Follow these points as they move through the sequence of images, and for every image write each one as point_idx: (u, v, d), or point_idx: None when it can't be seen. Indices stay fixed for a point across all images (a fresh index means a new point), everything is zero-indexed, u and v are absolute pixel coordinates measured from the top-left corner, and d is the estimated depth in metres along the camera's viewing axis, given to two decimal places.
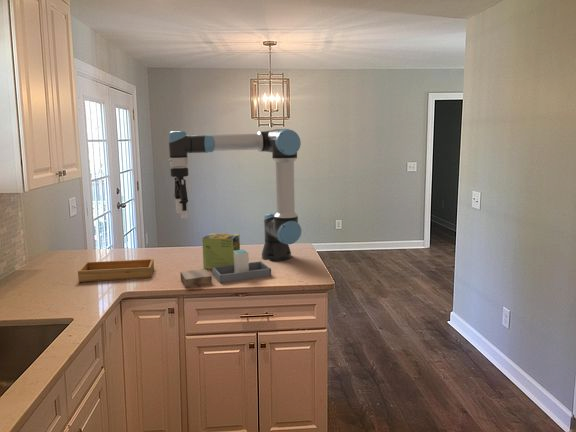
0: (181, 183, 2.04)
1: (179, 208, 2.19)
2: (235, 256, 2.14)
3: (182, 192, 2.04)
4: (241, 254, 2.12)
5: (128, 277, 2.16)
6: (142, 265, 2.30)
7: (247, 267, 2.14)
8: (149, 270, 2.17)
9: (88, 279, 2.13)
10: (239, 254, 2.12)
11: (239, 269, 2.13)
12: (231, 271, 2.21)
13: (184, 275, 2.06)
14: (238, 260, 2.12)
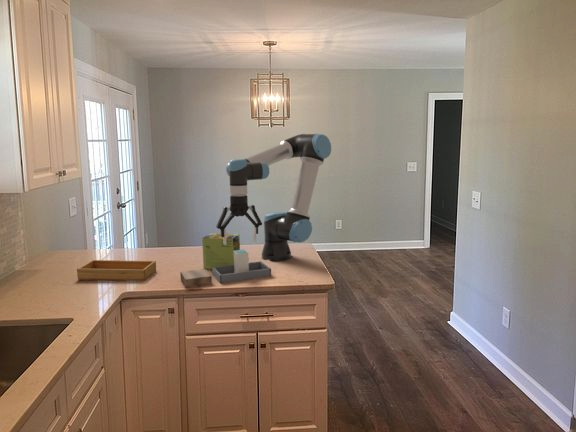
0: (223, 210, 2.09)
1: (253, 236, 2.16)
2: (235, 256, 2.14)
3: (220, 218, 2.09)
4: (241, 254, 2.12)
5: (123, 278, 2.14)
6: (144, 266, 2.27)
7: (247, 267, 2.14)
8: (143, 273, 2.13)
9: (86, 277, 2.15)
10: (239, 254, 2.12)
11: (239, 269, 2.13)
12: (231, 271, 2.21)
13: (184, 275, 2.06)
14: (238, 260, 2.12)
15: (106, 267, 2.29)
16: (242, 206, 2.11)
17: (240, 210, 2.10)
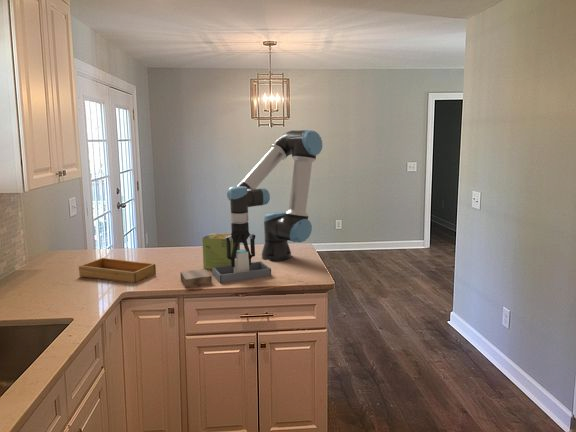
0: (226, 240, 2.12)
1: None
2: (235, 256, 2.14)
3: None
4: (241, 254, 2.12)
5: (116, 279, 2.13)
6: None
7: (247, 267, 2.14)
8: (133, 275, 2.09)
9: (86, 275, 2.19)
10: (239, 254, 2.12)
11: (239, 269, 2.13)
12: (231, 271, 2.21)
13: (184, 275, 2.06)
14: (238, 260, 2.12)
15: (113, 266, 2.31)
16: (244, 231, 2.13)
17: (241, 236, 2.13)
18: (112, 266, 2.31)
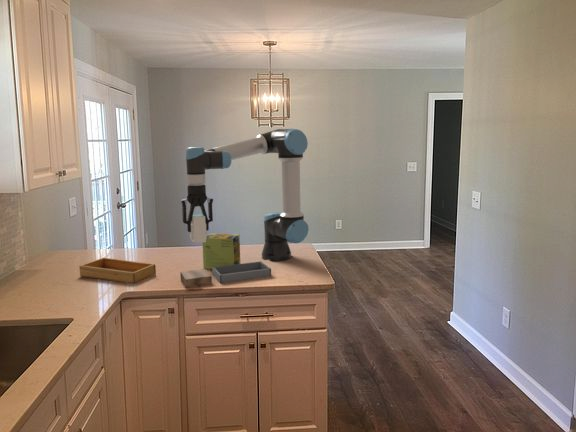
0: None
1: None
2: None
3: (182, 213, 2.03)
4: (197, 218, 2.02)
5: (116, 279, 2.13)
6: None
7: (204, 232, 2.04)
8: (132, 276, 2.09)
9: (86, 275, 2.19)
10: (195, 218, 2.02)
11: (195, 234, 2.03)
12: (231, 271, 2.21)
13: (184, 275, 2.06)
14: (195, 224, 2.02)
15: (113, 266, 2.31)
16: (201, 194, 2.03)
17: (198, 199, 2.03)
18: (113, 266, 2.31)
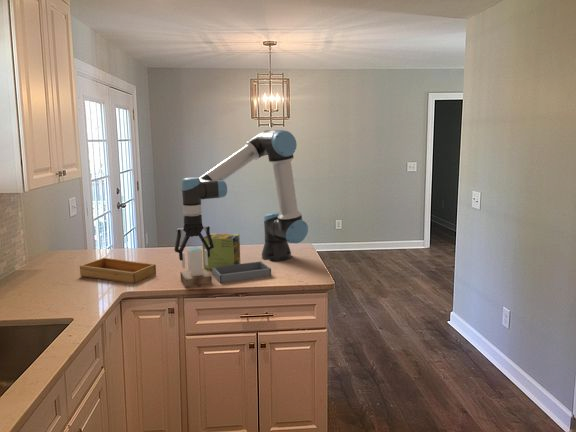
0: (177, 232, 2.03)
1: (205, 259, 2.09)
2: (188, 254, 2.06)
3: (176, 241, 2.04)
4: (194, 252, 2.04)
5: (116, 279, 2.13)
6: None
7: (201, 265, 2.06)
8: (132, 276, 2.09)
9: (87, 275, 2.19)
10: (192, 252, 2.03)
11: (192, 267, 2.05)
12: (231, 271, 2.21)
13: (184, 275, 2.06)
14: (191, 258, 2.04)
15: (114, 266, 2.31)
16: (197, 225, 2.04)
17: (194, 229, 2.04)
18: (113, 266, 2.31)
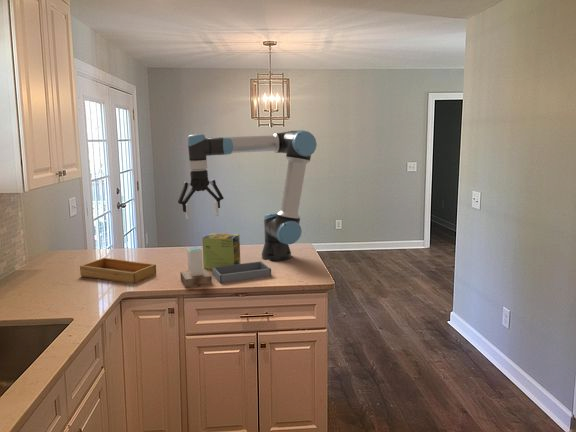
0: (184, 185, 2.12)
1: (215, 210, 2.19)
2: (188, 254, 2.06)
3: (181, 194, 2.12)
4: (194, 252, 2.04)
5: (116, 279, 2.13)
6: None
7: (201, 265, 2.06)
8: (132, 276, 2.08)
9: (87, 275, 2.19)
10: (192, 252, 2.03)
11: (192, 267, 2.05)
12: (231, 271, 2.21)
13: (184, 275, 2.06)
14: (191, 258, 2.04)
15: (114, 266, 2.31)
16: (202, 181, 2.14)
17: (201, 185, 2.14)
18: (113, 266, 2.31)
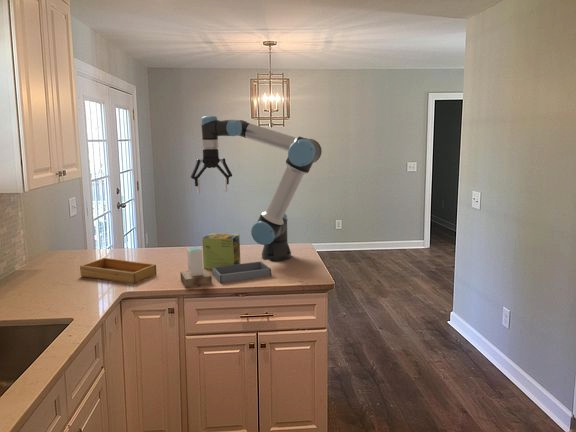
0: (196, 162, 2.34)
1: (224, 186, 2.41)
2: (188, 254, 2.06)
3: None
4: (194, 252, 2.04)
5: (116, 279, 2.13)
6: None
7: (201, 265, 2.06)
8: (132, 276, 2.08)
9: (87, 275, 2.19)
10: (192, 252, 2.03)
11: (192, 267, 2.05)
12: (231, 271, 2.21)
13: (184, 275, 2.06)
14: (191, 258, 2.04)
15: (114, 266, 2.30)
16: (213, 158, 2.35)
17: (212, 162, 2.35)
18: (114, 266, 2.31)
